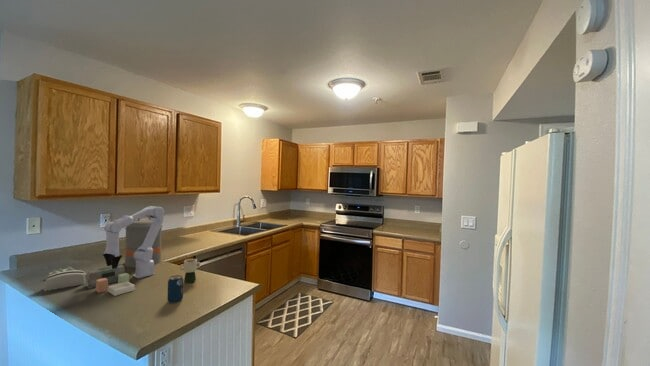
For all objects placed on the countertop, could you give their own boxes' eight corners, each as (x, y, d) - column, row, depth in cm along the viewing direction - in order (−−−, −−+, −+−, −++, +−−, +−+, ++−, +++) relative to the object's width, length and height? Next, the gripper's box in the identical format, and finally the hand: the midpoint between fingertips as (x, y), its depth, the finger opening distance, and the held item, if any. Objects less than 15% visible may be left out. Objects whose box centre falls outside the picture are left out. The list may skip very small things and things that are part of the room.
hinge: (85, 281, 158) (86, 266, 155) (85, 286, 154) (86, 271, 152) (44, 288, 146) (44, 272, 144) (43, 293, 143) (43, 278, 140)
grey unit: (122, 276, 166) (123, 263, 166) (127, 278, 163) (127, 264, 163) (85, 285, 151) (85, 270, 151) (88, 288, 148) (89, 273, 148)
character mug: (199, 278, 167) (199, 257, 167) (200, 282, 161) (201, 260, 161) (179, 281, 161) (179, 260, 161) (180, 285, 155) (180, 263, 155)
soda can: (185, 300, 136) (185, 277, 136) (170, 305, 131) (170, 280, 131) (179, 296, 141) (180, 273, 141) (165, 300, 135) (165, 277, 135)
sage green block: (126, 283, 156) (126, 272, 156) (129, 284, 154) (129, 274, 154) (117, 285, 153) (118, 274, 153) (120, 286, 151) (121, 276, 151)
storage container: (123, 269, 178) (125, 217, 178) (124, 261, 196) (125, 213, 196) (162, 264, 192) (164, 215, 191) (160, 256, 210) (161, 212, 209)
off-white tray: (127, 286, 152) (127, 281, 152) (134, 290, 147) (134, 285, 147) (108, 291, 144) (108, 286, 144) (114, 295, 139) (114, 290, 139)
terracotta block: (104, 288, 148) (105, 277, 148) (107, 290, 146) (108, 279, 146) (95, 291, 145) (96, 280, 145) (98, 292, 142) (98, 281, 142)
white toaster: (44, 270, 158) (74, 263, 172) (42, 279, 158) (72, 271, 172) (58, 280, 153) (88, 272, 168) (56, 290, 154) (87, 280, 168)
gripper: (99, 242, 153) (98, 266, 154) (108, 246, 145) (108, 271, 146) (114, 240, 159) (113, 263, 159) (124, 244, 151) (123, 268, 151)
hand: (112, 266), depth 153 cm, fingers open, 7 cm apart
